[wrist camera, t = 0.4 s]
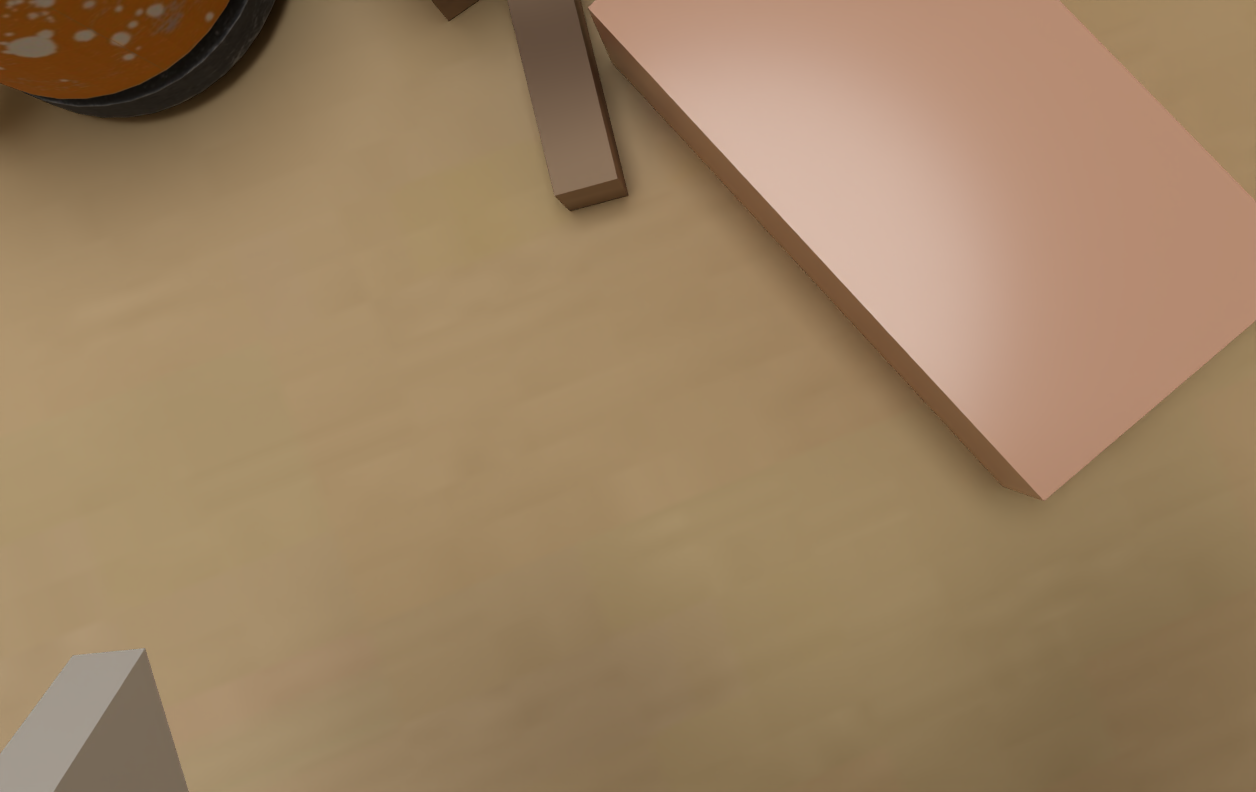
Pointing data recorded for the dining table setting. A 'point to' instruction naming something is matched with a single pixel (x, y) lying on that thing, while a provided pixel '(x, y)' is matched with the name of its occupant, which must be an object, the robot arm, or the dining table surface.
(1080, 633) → the dining table surface
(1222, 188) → the pink foam brick
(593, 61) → the shelf
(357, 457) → the dining table surface
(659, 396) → the dining table surface
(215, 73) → the canister
